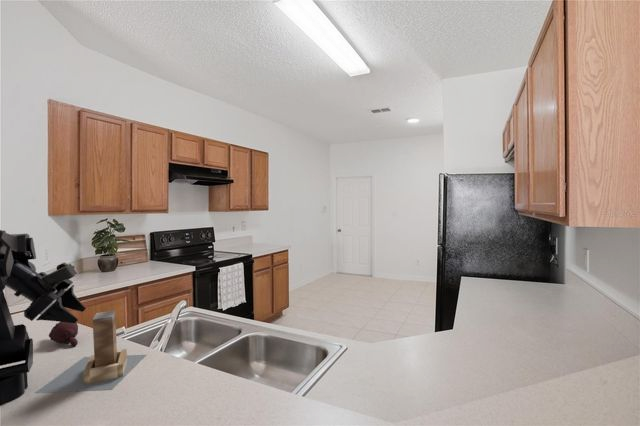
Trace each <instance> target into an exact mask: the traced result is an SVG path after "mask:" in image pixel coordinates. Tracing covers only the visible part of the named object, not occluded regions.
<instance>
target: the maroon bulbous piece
mask: <svg viewBox="0 0 640 426" xmlns="http://www.w3.org/2000/svg"><path fill="white" fill-rule="evenodd" d="M78 334H79V325H78V321H77V322H76V323H67V322H59V321H58V323H55V326H53V327H52V328H51V331H50V332H49V333H48V337H49V338H50V340H51V341H53V342H55V343H59V344H67V343H69V344H70V345H71V346H73V347H75V346H77V345H78V343H79V342H78V339H77V338H76V336H77V335H78Z"/></svg>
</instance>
